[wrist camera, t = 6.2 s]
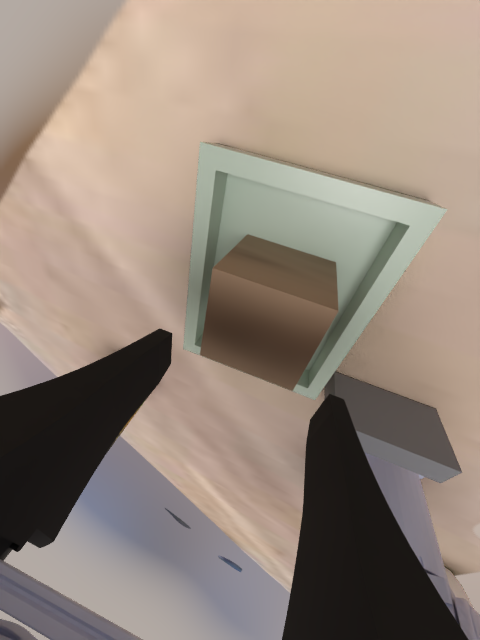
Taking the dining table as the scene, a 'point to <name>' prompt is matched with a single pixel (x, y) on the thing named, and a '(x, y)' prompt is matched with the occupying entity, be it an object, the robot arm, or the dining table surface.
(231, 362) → the brown block
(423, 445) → the block
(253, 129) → the dining table surface
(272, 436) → the dining table surface
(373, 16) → the dining table surface
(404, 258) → the tray
